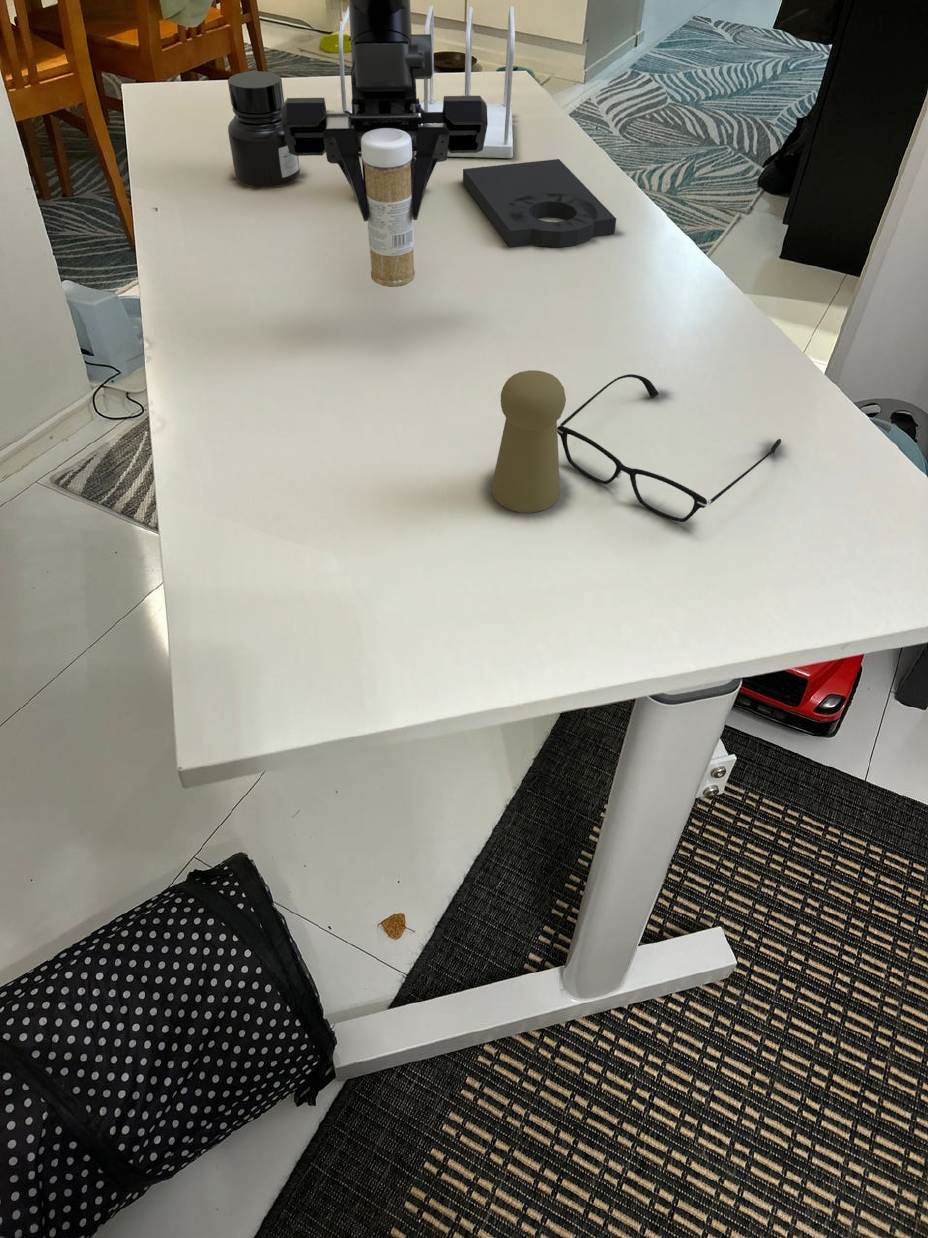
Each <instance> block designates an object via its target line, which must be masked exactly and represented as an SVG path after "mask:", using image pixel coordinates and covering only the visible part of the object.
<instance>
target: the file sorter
mask: <svg viewBox="0 0 928 1238" xmlns="http://www.w3.org/2000/svg"><path fill="white" fill-rule="evenodd" d="M473 8H474V7H473V6H469V7H468V11H467V20H466V30H465V49H464V50H465V52H464V53H465V54H464V55H465V58H464V96H471V90H472V89H471V88H472V87H471V86H472V83H471V82H472V57H473V56H472V55H473V53H472V52H473V21H474V20H473V19H474V17H473V16H474V15H473V14H474V13H473V12H474V9H473ZM514 9H515V8H514V5H510V6H509V8H508V18H507V19H508V21H507V37H506V55H505V70H504V71H505V72H504V88H503V89H504V90H503V103H487V102H486V105H487V120H488V125H487V131H486V136H485V141H484V147H483V150H482V151H480V152H477V153H450V152H449V151H448V154H447V157H457V158H458V157H460V158H464V157H465V158H495V159H512V158H513V155H514V154H513V152H514V150H513V149H514V143H513V142H514V141H513V139H514V138H513V137H514V136H513V135H514V134H513V106H512V88H513V71H514V59H515V58H514V57H515V39H516V27H515V24H516V23H515V11H514ZM434 15H435V14H434V5H432V4H431V5H429V6H428V10H427V15H426V19H425V24H424V29H423V30H424V31H423V34H431V41H432V64H433V65H434V63H435V62H434V61H435V60H434V58H435V57H434V56H435V55H434V50H435V49H434V44H435V41H434V40H435V39H434V38H435V37H434V35H435V32H434V29H435V25H434V24H435V20H434V19H435V16H434ZM349 20H350V16H349V5H348V6H347V8H346V10H345V14H344V15H343V17H342V21H341V23H340V25H339V30H338V62H339V63H338V64H339V79H340V80H339V81H340V93H341V108H342V109H341V110H345V111H349V112H350V113H352V100H351V101H350V104H349V107H348V108H347V92H346V91H347V90H346V75H345V60H344V59H345V58H344V32H345V29H346V27H347V25H348V22H349ZM419 104H421V108H422V109H423V110H424V111H425V112H443V101H438V100H437V101H434V73H433V74H432V78H431V79H423V100H419ZM358 154H361V152H359V153H358ZM415 156H416V151H415Z"/></svg>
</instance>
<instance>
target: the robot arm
mask: <svg viewBox="0 0 928 1238" xmlns="http://www.w3.org/2000/svg"><path fill="white" fill-rule="evenodd" d="M348 6H349V32H350V36H349V37H350V53H351V70H350V81H351V82H350V83H351V84H350V85H351V101H352V113H350V112H349V111H348V110H347V111H345V110H342V109H341V110H340V109H339V110H327V106H326V100H325V99H326V98H325V97H286V99H285V100H284V103H283V105H282V108H281V111H282V128H283V131H284V135H285V139H286V142H287V146H288V150H289V153H290V154H293V155H295V156H298V157H299V156H300V157H303V156H305V157H306V156H308V157H309V156H311V157H312V156H324V154H325V155H326V161H327V162H328V164H333V165H334V164H337V165H338V166H339V168H340V169H341V172H342V173H343V175H344V177H345V178H346V180H347V182H348V185H349V186H350V189H351V191H352V194H353V195H354V196H353V197H354V198H355V202H356V205H357V207H358V209H359V212H360V214H361V218H362V220H363V221H364V222H368V210H367V199H366V180H365V166H364V163H363V159H362V158H361V160H360V155H362V151H361V138H362V136H363V135H364V134H365V133H367V132H368V131H371V130H375V129H380V128H393V129H399V130H402V131H405V132H407V133H408V134H409V135H410V137H411V142H412V158H411V164H410V168H411V191H412V197H413V199H412V206H413V221H418V218H419V215H420V212H421V207H422V203H423V200H424V197H425V192H426V190H427V189H426V188H427V186H428V183H429V181H430V179H431V176H432V174H433V171H434V169H435V167H436V165H437V163H441V162H445V161H447V159H448V156H447V154H448V151H449V152H450V153H477V152H480V151H482V150H483V147H484V141H485V136H486V131H487V125H488V120H487V105H486V103H487V102H486V101H485V100H484V98H483V97H482V96H481V95H470V96H465V95H444V96H443V101H442V102H443V112H425V111H424V110H423V109H422V108H421V104H419V101H420V98H419V97H417V80H424V79H428V80H430V79H431V78H432V74H433V75H434V63H433V64H432V41H431V34H430V33H429V34H424V33H422V34H421V33H420V34H416V33H415V34H413V33H412V32H413V31H412V13H411V0H348ZM415 151H416V155H415ZM359 152H361V153H359ZM359 154H360V155H359ZM361 165H362V166H361Z"/></svg>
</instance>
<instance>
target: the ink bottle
mask: <svg viewBox="0 0 928 1238" xmlns="http://www.w3.org/2000/svg"><path fill="white" fill-rule="evenodd" d="M227 85H228V90H229V98H230V103H231V106H232V113H234V116H233V118H232V119H231V120H230V122H229V123H228V126H227V133H228V134H227V135H228V139H229V145H230V152H231V158H232V164H233V171H234V176H235V178H236V179H237V181H238V182H240V183H241V184H242V185H245V186H247V187H248V186H249V187H254V188H273V187H280V186H284V185H285V186H286V185H288V184H291V183H292V182H295V180H297V179H298V177H300V172H301V169H300V161H299V156H295V155H293V154H290V153H289V150H288V146H287V142H286V139H285V135H284V131H283V128H282V111H281V108H282V105H283V103H284V102H285V96H284V89H283V80H282V78H281V76H280V75H279V74H277V73H275V72H269V71H258V70H257V71H256V70H253V71H244V72H240V73H236V74H234V75H231V76H230V77H229V78H228V80H227Z"/></svg>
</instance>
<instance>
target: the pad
mask: <svg viewBox="0 0 928 1238" xmlns="http://www.w3.org/2000/svg"><path fill="white" fill-rule="evenodd" d="M462 185H463V186H464V188H465V189H466V190H467V192H468V193H469V194H470V196H471V197H472V199H473V200H474V201H475V202H476V204H477V205H478V207H479V209H481V210H482V213H484V215H485V216H486V217H487V219H488V220H489V221H490V223H491V224H492V225H493V227H494V228H495V229H496V231H497V232H498V233H499V235H500V236H501V238H502V239H503V240H504V242H505V243H506V245H507V246H508V248H515V247H523V246H531V245H534V246H538V247H544V248H565V247H572V246H574V247H575V246H578V245H580V244H583V243H586V242H589V241H590V240H591V239H592V238H597V237H603V236H611V235H615V231H616V226H617V225H616V224H617V217H616V216H614V214H613V213H612V212H611V211H610V210H609V209H608V208H607V207H606V206H605V205H604V204H603V203H602V202H601V201H600V199H598V198H597V197H596V196H595V195H594V194H593V193H592V191H591V190H590V189H589V188H587V186H586V185H585V184H584V183H583V182H582V181H581V180H580V179H579V178H578V177H577V176H576V175H575V174H574V173H573V172H572V171H571V170H570V169H569V167H568V166H567V165H565V163H563V161H562V160H561V159H559V158H555V159H554V158H553V159H546V160H536V161H526V162H518V163H507V164H497V165H487V166H479V167H470V168H468V167H467V168H463V169H462ZM539 218H558V219H561V220H563V221H546V220H543V219H542V220H541V219H539Z"/></svg>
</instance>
